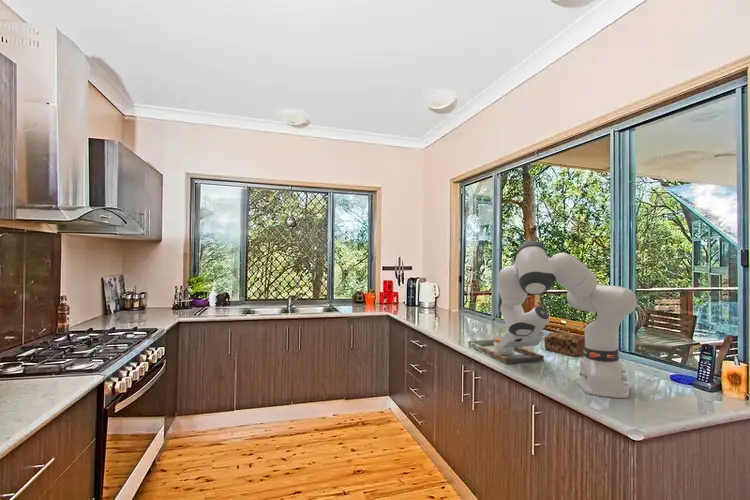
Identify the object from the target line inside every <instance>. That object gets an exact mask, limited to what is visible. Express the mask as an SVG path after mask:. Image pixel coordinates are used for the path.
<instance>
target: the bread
mask: <svg viewBox="0 0 750 500" xmlns="http://www.w3.org/2000/svg"><path fill="white" fill-rule="evenodd" d="M543 339H544V341H543V342H544V343H543V345H544V350H545V351H548V352H553V353H556V354H557V353H558V354H561V355H567V356H570V357H582V356H583V357H584V352H583V349H584V346H585V335H584V336H583V335H581V334H580V335H579V334H574V333H573V334H572V333H563V332H549V333H548V334H547V335H545V336H544V338H543Z"/></svg>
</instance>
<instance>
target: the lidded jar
mask: <svg viewBox="0 0 750 500" xmlns="http://www.w3.org/2000/svg"><path fill="white" fill-rule="evenodd" d="M502 337H503V336H495V337H493V340H494V345H493V346H494V349H495V351H496V353H498V354H500V355H502V356H511V354H512V353H514V350H512V347H509V348H503V347H502V346H501V344H500V340H501V338H502Z"/></svg>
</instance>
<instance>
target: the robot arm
mask: <svg viewBox="0 0 750 500" xmlns="http://www.w3.org/2000/svg"><path fill="white" fill-rule="evenodd" d="M547 253H548V252H547V250H546V248H545V246H544V245H543V244H542V243H541V242H540V241H538V240H537V241H536V240H528V241H525V242H522V244H520V246H519V247H518V249H517V250H516V252H515V255H514V256H513V257H512V258H513V261H514V263H513V264H511V265H506V266H504V267H502V268H501V270H500V271H499V272H498V277H497V290H498V293H499V294H498V295H499V296H500V299H499V303H498V306H497V308H498V309H499V312H500V313H501V315H502V318H503V321H504V323H505V325H506V328H507V330H506V331H507V332H505V333H504V334H502V336H501V337H502V338H501V340H500V344H501V346H502V347H503V348H509V347H512V350H513V351H514V350H519V349H520V348H524V347H533V346H539V345H540V344H541V342H542V341H543V337H544V335H545V332H544V331H543V330H544V329H545V327H546V326H547V324H548V322H549V319H550V317H549V313H548V312H547V311H546V309H545V308H543V307H541V306H535V307H533V308H532V309H531V310H530V311H528V312H527V311H526V312H525V311H524V308H523V306H522V304H523V303H524V302H525V301H527V297H528V294H529V295H532V296H533V295H534V296H536V295H541V294H542V295H543V294H544V293H546V292H547V291H549V290H550V289H551V288H553V287H554V286H555V284H556V283H558V284H559V285H560V286H561V287H562V288H564V289H565V290H566V291H567V292H566V299H567V303H568V305H569V306H570V307H571V308H573V309H576V310H579V311H583V312H590V313H597V316H596V319H595V321H592V322H590V323H588V324H587V325H586V326H585V328H584V337H585V346H584V349H583V352H584V355H583V358H581V359H580V360H579V377H575V378H574V382H575V383H576V384H577V385H578V387H580V389H581V390H582V391H583V392H584V393H585V394H588V395H594V396H598V397H599V396H600V397H605V398H617V399H627V398H629V397H630V389H631V388H630V387H631V385H630V383H627V382H628V375H626V374H625V373H626V369H624V367H623V363H622V362H621V361H620V353H619V349H618V333H619V332H618V331H619V327H620V324H621V322H622V321H623V320H624V319H625V318H626V317H627V316H629V315H630V314H632V313H633V312H634V311H635V309H636V307H637V304H638V300H637V296H636V295H635V293H634V291H632V289H630V288H626V287H624V286H619V285H608V284H607V285H605V284H598V278H597V276H596V274H595V273H594V272H593V271H592V270H590V269H589V268H588V267H587V266H586V265H585V264H584V263H583V262H582V261H580V260H579V259H578V258H576V257H574V256H572V254H569V253H567V252H559V253H555V254H553V255H552V256H551V257H548V255H547Z"/></svg>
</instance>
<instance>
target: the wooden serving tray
mask: <svg viewBox="0 0 750 500" xmlns="http://www.w3.org/2000/svg"><path fill="white" fill-rule="evenodd" d="M469 346H470V347H469ZM488 346H489V347H490V346H494V340H493V339H482V340H481V339H479V340H478V339H477V340H468V347H469V348H471V347H472V348H471V349H473V348H474V349H473V350H475V349H477V350H479V351H478V352H480V351H481V352H480V353H482V352H484V353H486V354H488V355H490V356H492V357H493V359H494V358H495V360H496V359H497V360H496V361H498V360H499V361H498V362H501V363H503V364H505V365H511V364H512V365H513V364H515V365H516V364H524V363H535V362H536V363H537V362H544V361H545V355H543V354H539V353H538V352H535V351H532V350H529V349H527V348H524V347H522V348H520V349H519V350H513V352H517V353H519V354H517V355H501V354H498V352H495V351H493V350H491V349H488V348H486V347H488ZM477 350H476V351H477ZM484 353H483V354H484ZM486 354H485V355H486ZM488 355H487V356H488ZM490 356H489V357H490ZM492 357H491V358H492Z"/></svg>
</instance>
